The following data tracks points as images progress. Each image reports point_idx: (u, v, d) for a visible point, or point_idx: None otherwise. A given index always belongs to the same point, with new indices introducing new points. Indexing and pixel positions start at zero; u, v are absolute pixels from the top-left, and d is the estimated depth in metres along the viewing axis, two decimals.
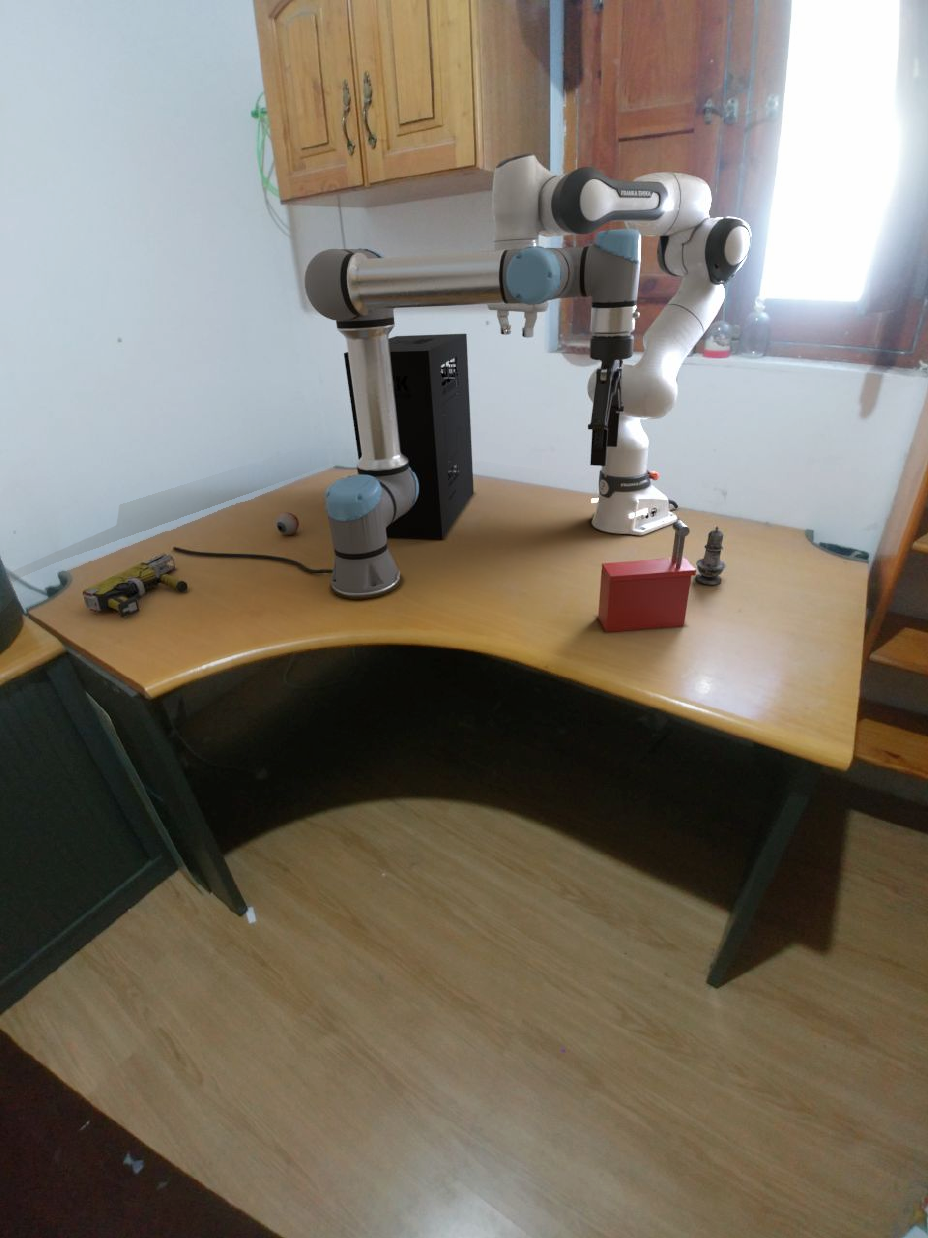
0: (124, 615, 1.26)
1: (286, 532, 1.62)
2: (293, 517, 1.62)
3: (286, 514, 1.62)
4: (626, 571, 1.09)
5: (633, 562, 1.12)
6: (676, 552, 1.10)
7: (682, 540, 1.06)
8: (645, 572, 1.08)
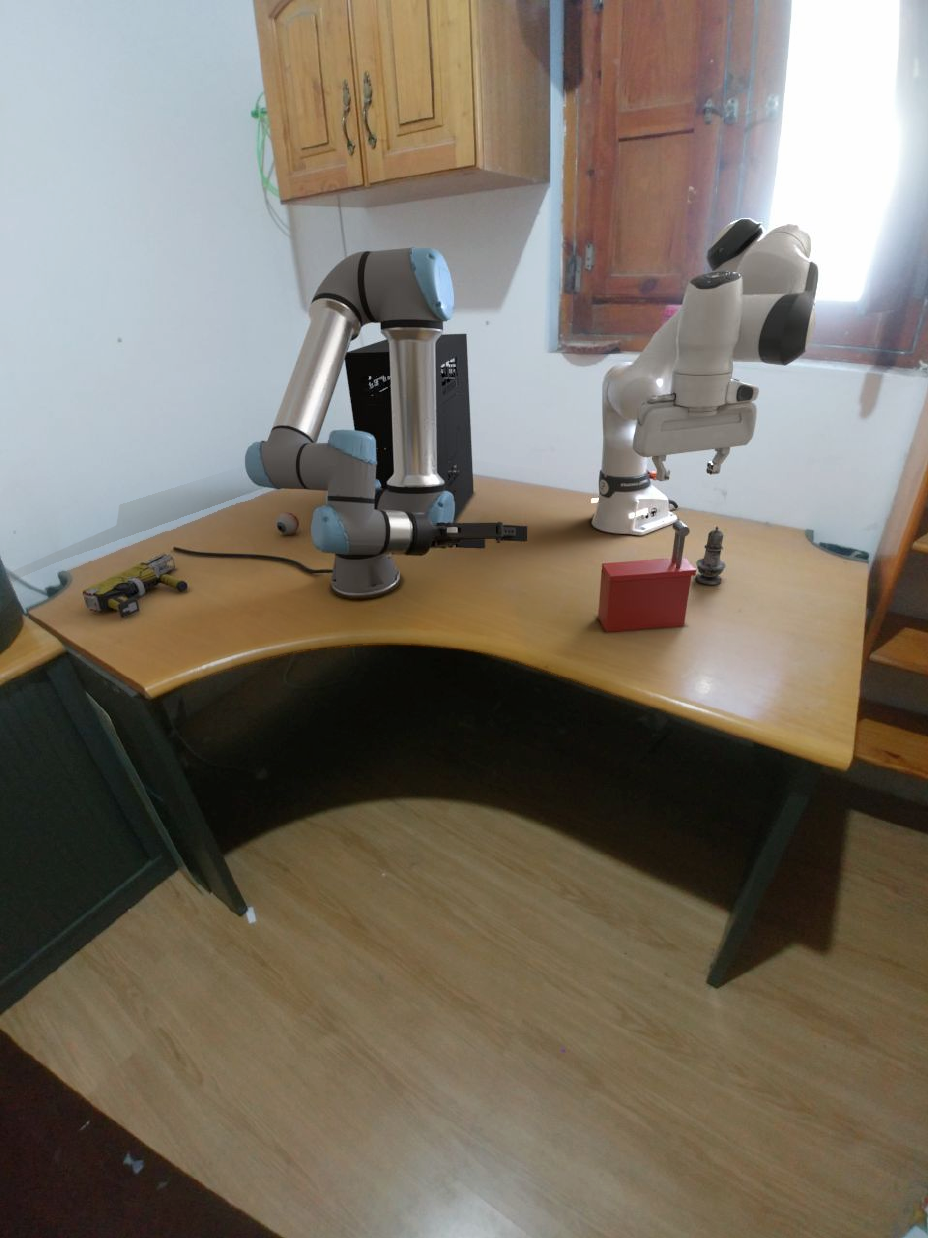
0: (124, 615, 1.26)
1: (286, 532, 1.62)
2: (293, 517, 1.62)
3: (286, 514, 1.62)
4: (626, 571, 1.09)
5: (633, 562, 1.12)
6: (676, 552, 1.10)
7: (682, 540, 1.06)
8: (645, 572, 1.08)
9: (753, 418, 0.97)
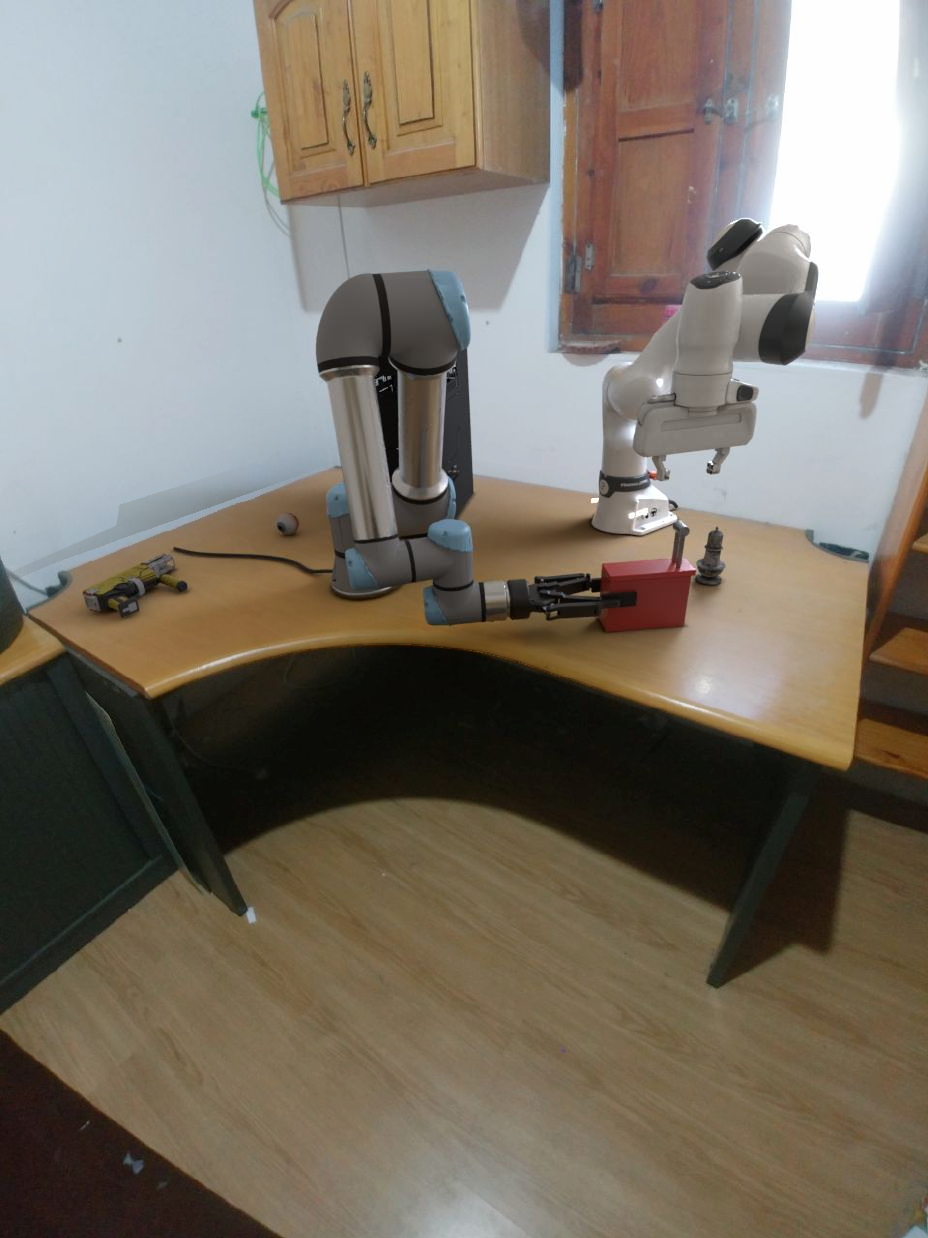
0: (124, 615, 1.26)
1: (286, 532, 1.62)
2: (293, 517, 1.62)
3: (286, 514, 1.62)
4: (626, 571, 1.09)
5: (633, 562, 1.12)
6: (676, 552, 1.10)
7: (682, 540, 1.06)
8: (645, 572, 1.08)
9: (753, 418, 0.97)
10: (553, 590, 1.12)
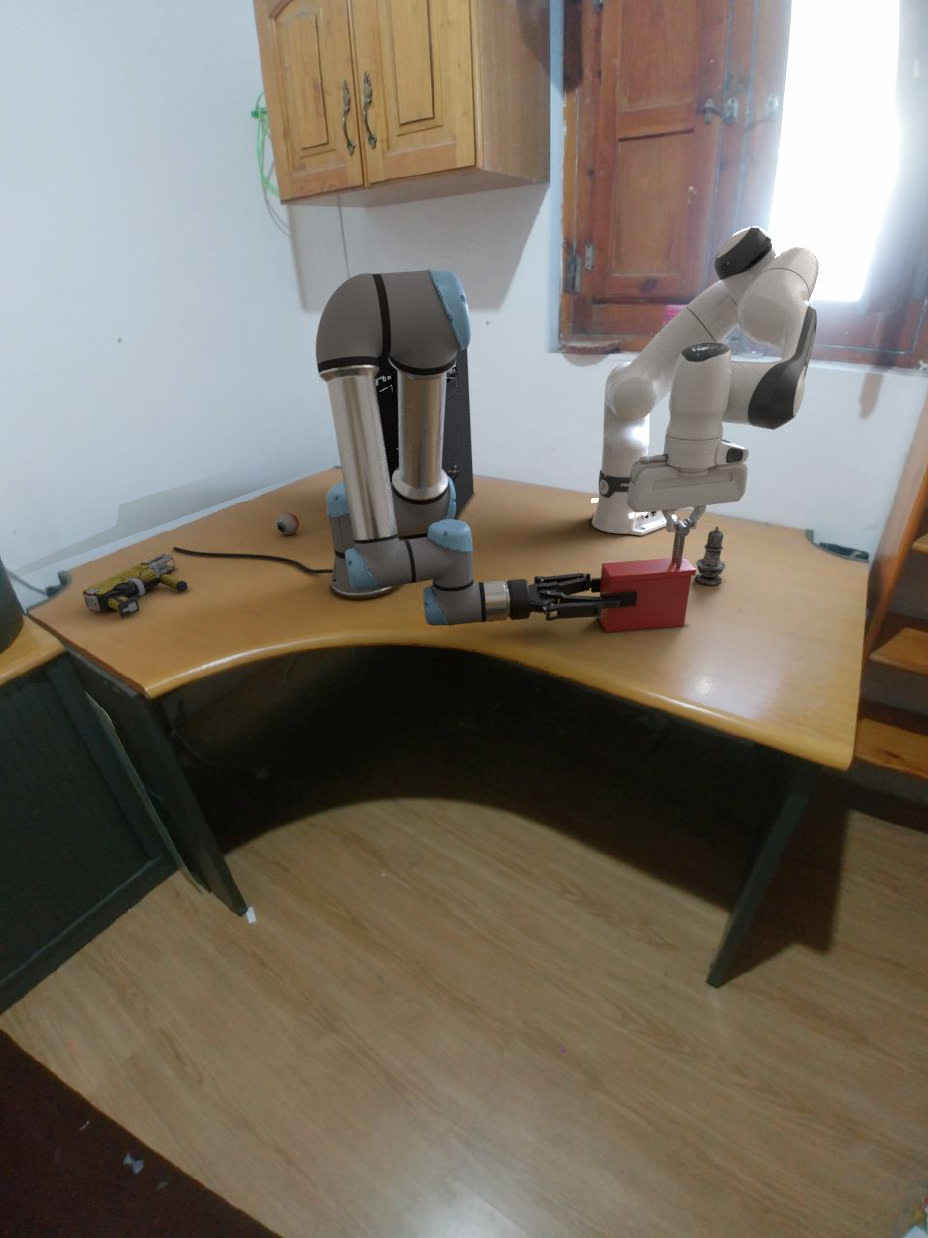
0: (124, 615, 1.26)
1: (286, 532, 1.62)
2: (293, 517, 1.62)
3: (286, 514, 1.62)
4: (626, 571, 1.09)
5: (633, 562, 1.12)
6: (676, 552, 1.10)
7: (682, 540, 1.06)
8: (645, 572, 1.08)
9: (744, 477, 1.02)
10: (553, 590, 1.12)
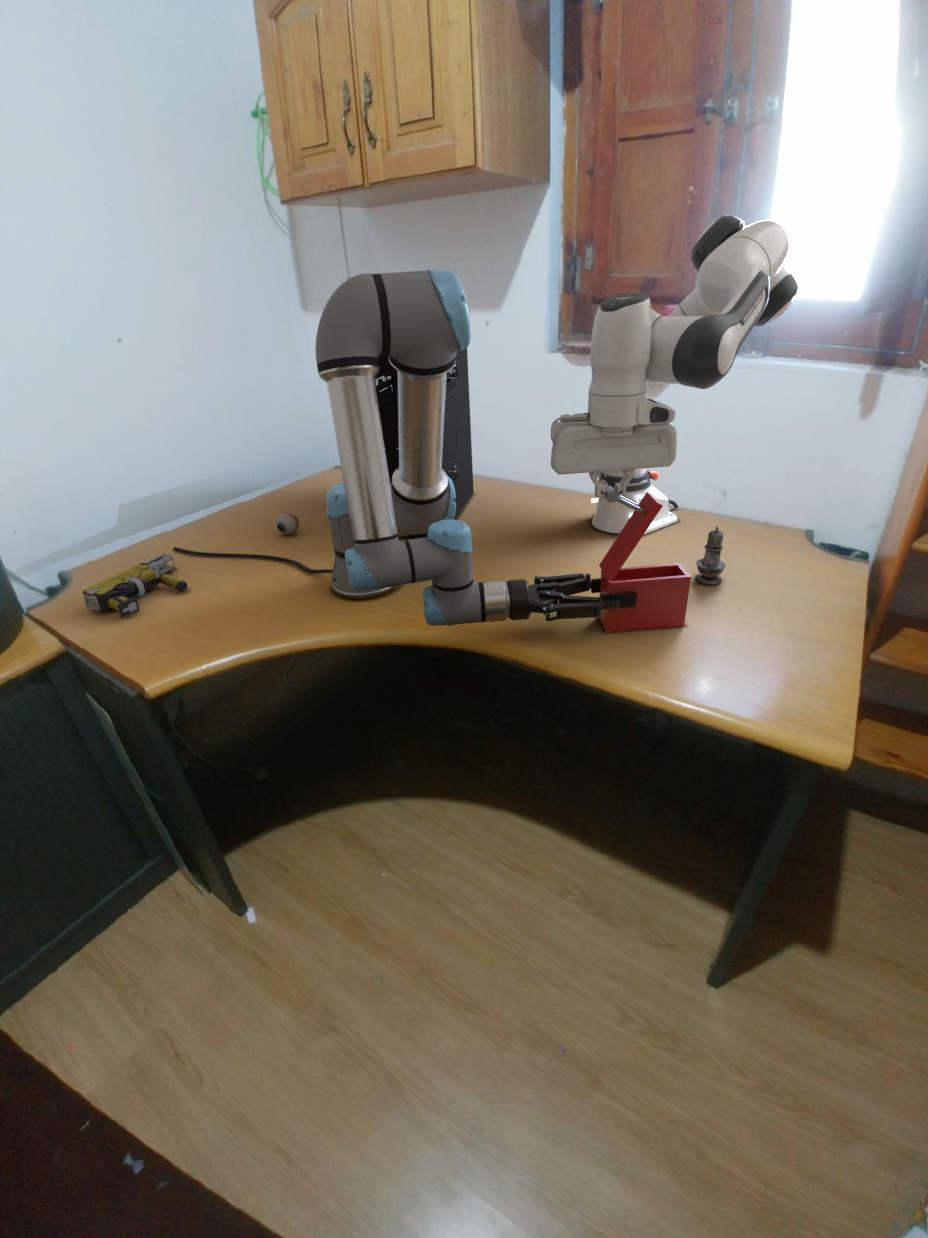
0: (124, 615, 1.26)
1: (286, 532, 1.62)
2: (293, 517, 1.62)
3: (286, 514, 1.62)
4: (614, 560, 1.07)
5: (616, 540, 1.09)
6: (632, 503, 1.04)
7: (620, 501, 1.02)
8: (626, 547, 1.05)
9: (673, 440, 0.96)
10: (553, 590, 1.12)
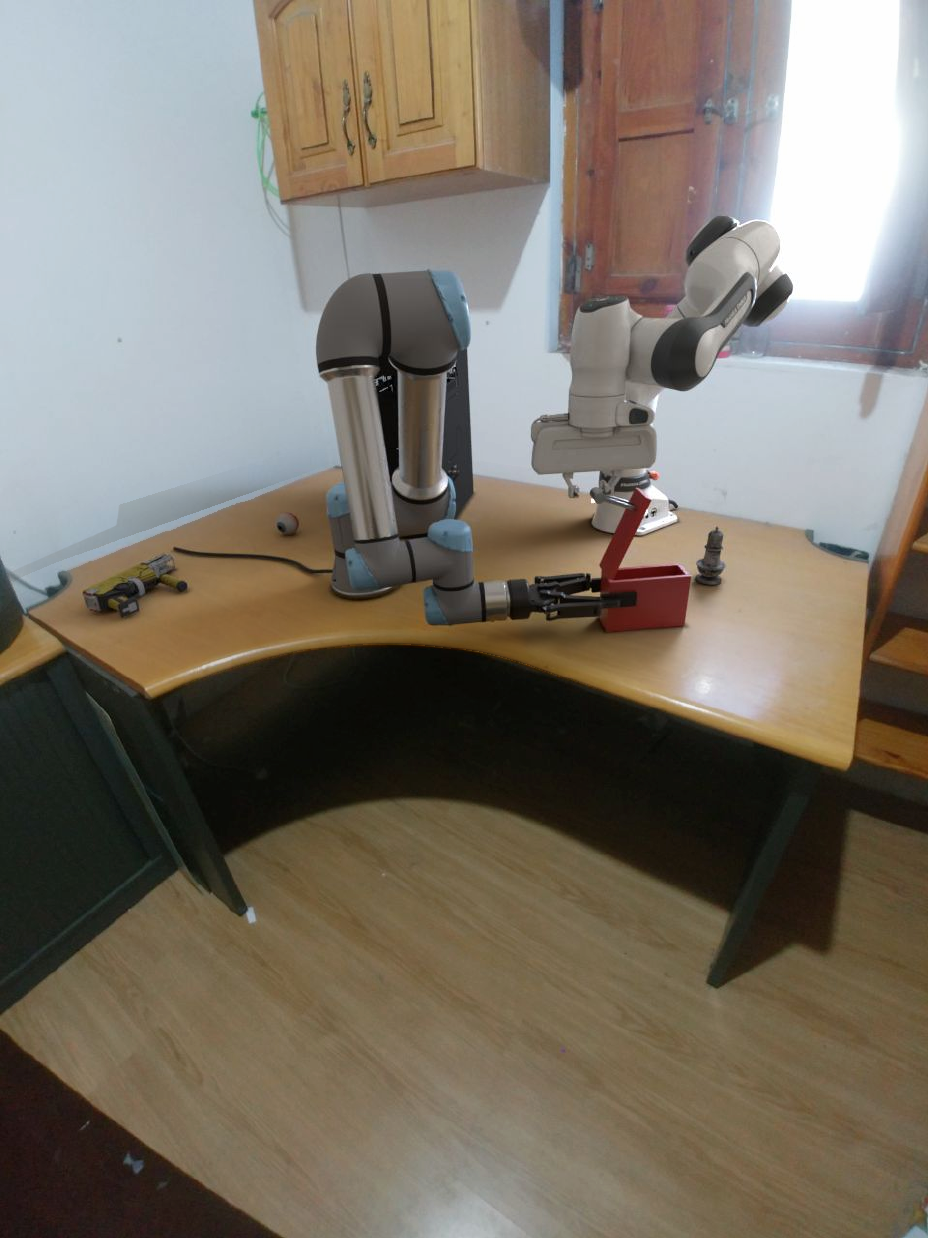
0: (124, 615, 1.26)
1: (286, 532, 1.62)
2: (293, 517, 1.62)
3: (286, 514, 1.62)
4: (612, 559, 1.07)
5: (612, 539, 1.09)
6: (622, 501, 1.04)
7: (608, 501, 1.02)
8: (621, 545, 1.05)
9: (653, 441, 0.96)
10: (553, 590, 1.12)
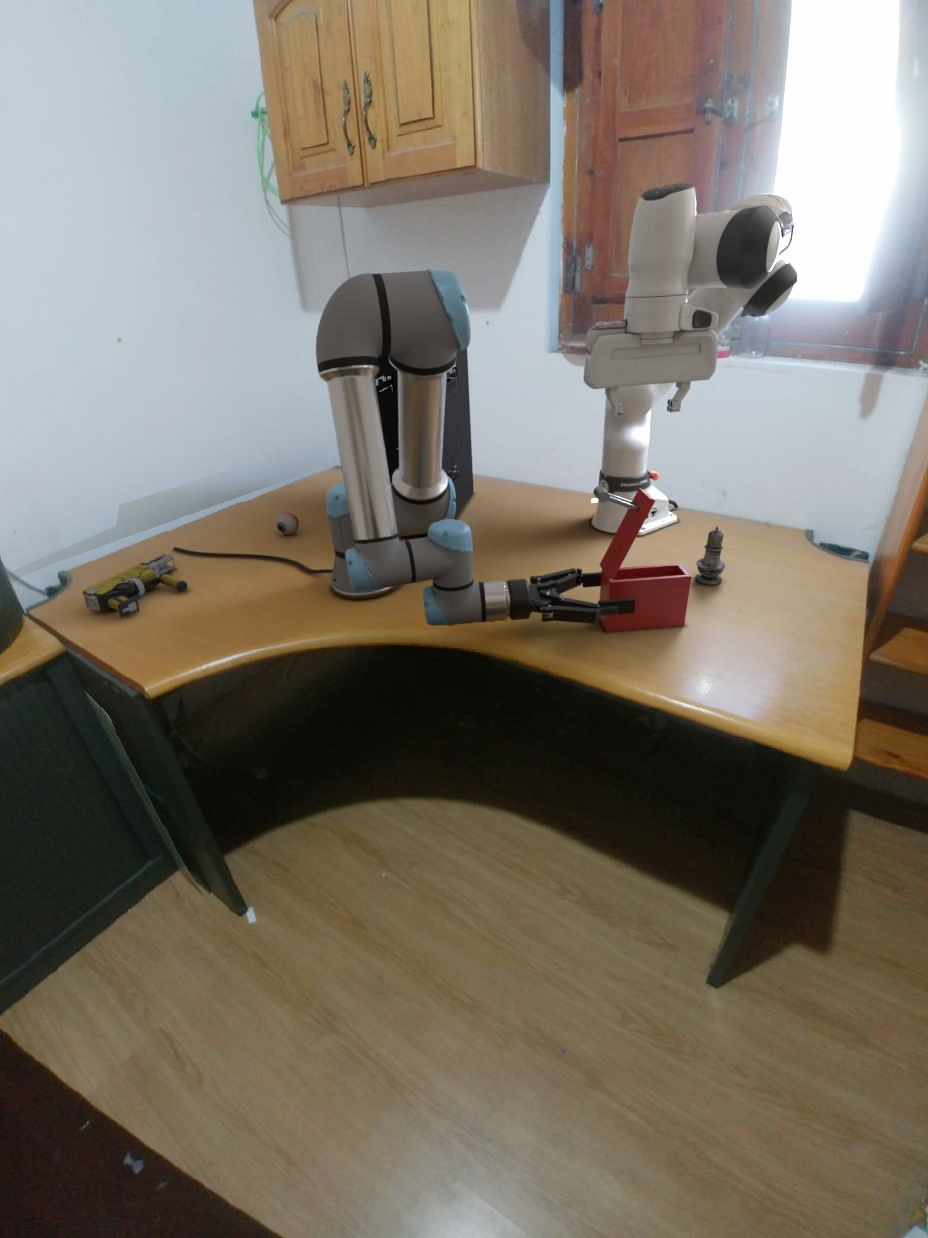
0: (124, 615, 1.26)
1: (286, 532, 1.62)
2: (293, 517, 1.62)
3: (286, 514, 1.62)
4: (613, 559, 1.07)
5: (614, 539, 1.09)
6: (625, 501, 1.04)
7: (612, 500, 1.02)
8: (623, 545, 1.05)
9: (714, 349, 0.91)
10: (553, 590, 1.12)
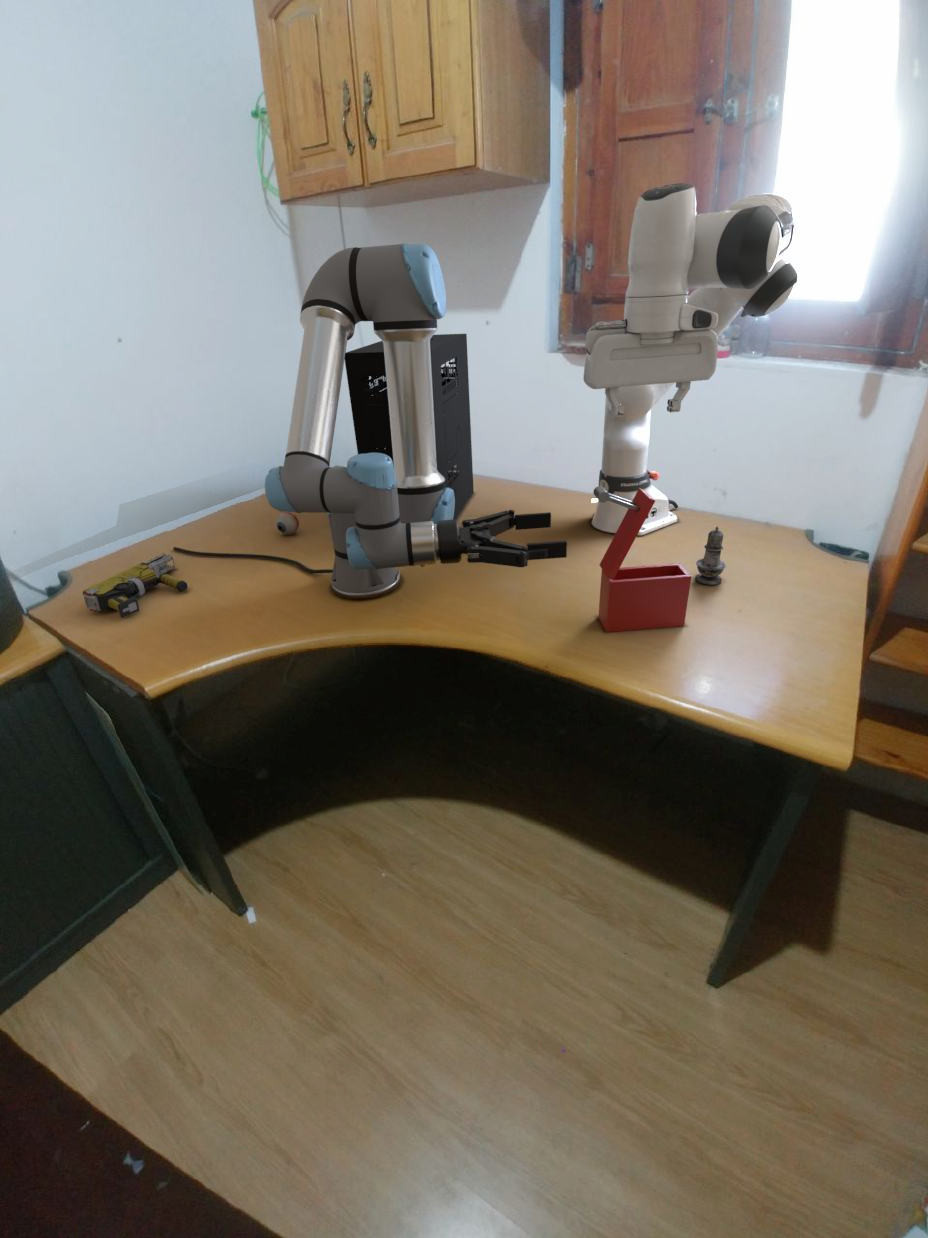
0: (124, 615, 1.26)
1: (286, 532, 1.62)
2: (293, 517, 1.62)
3: (286, 514, 1.62)
4: (613, 559, 1.07)
5: (614, 539, 1.09)
6: (625, 501, 1.04)
7: (612, 500, 1.02)
8: (623, 545, 1.05)
9: (714, 349, 0.91)
10: (486, 532, 1.05)
